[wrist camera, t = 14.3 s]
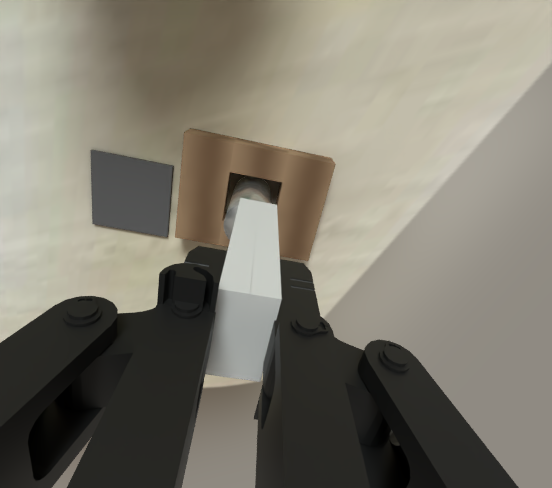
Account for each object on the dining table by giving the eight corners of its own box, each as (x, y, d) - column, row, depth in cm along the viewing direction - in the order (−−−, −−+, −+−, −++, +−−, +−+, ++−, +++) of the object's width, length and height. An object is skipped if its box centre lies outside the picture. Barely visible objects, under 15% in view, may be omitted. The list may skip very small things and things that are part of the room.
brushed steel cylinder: (231, 207, 42) (220, 243, 33) (236, 172, 40) (226, 200, 31) (267, 213, 42) (266, 251, 33) (273, 179, 40) (274, 208, 31)
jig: (181, 227, 43) (175, 237, 40) (190, 128, 38) (184, 132, 35) (305, 249, 44) (308, 260, 42) (331, 157, 39) (335, 164, 37)
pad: (94, 222, 42) (92, 223, 42) (92, 149, 38) (90, 150, 38) (167, 235, 43) (167, 237, 43) (173, 165, 39) (172, 166, 39)
